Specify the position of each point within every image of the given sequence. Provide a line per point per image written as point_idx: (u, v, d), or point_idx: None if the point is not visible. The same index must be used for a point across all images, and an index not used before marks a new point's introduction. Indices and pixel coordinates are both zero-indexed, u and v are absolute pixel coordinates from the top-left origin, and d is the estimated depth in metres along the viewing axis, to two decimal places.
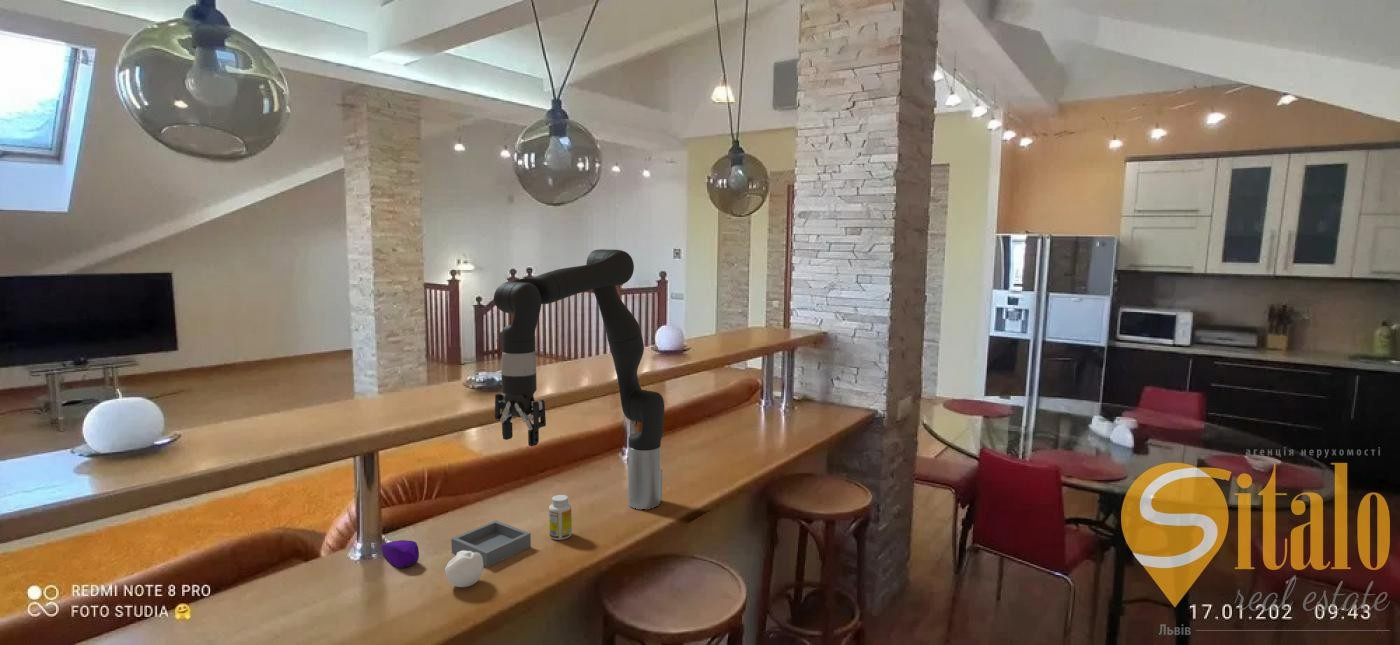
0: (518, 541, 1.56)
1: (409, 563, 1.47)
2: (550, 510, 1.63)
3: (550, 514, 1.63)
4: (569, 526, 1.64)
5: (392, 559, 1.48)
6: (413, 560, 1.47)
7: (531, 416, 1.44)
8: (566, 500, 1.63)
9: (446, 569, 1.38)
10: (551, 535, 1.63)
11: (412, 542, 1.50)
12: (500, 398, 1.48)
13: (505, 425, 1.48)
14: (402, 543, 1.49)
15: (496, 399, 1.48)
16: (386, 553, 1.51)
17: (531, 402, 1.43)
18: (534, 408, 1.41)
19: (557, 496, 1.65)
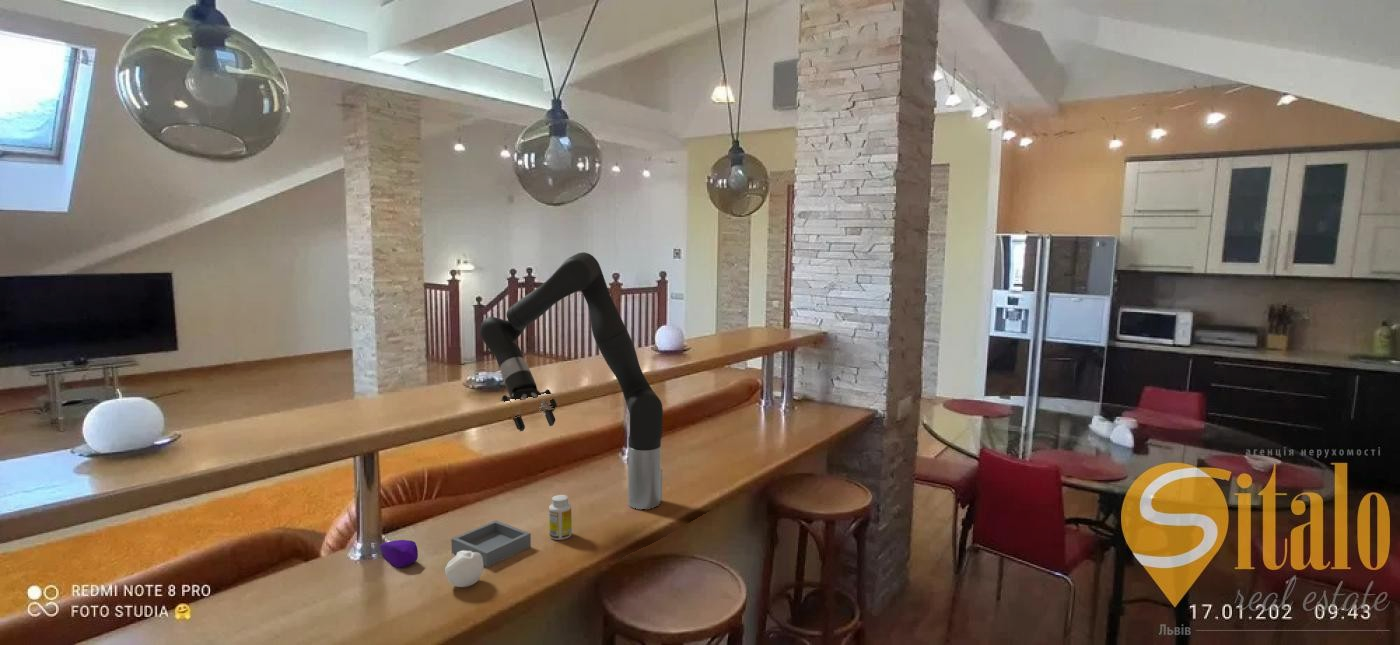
0: (518, 541, 1.56)
1: (408, 563, 1.47)
2: (550, 510, 1.63)
3: (550, 514, 1.63)
4: (569, 526, 1.64)
5: (391, 559, 1.49)
6: (412, 560, 1.47)
7: None
8: (566, 500, 1.63)
9: (446, 569, 1.38)
10: (551, 535, 1.63)
11: (411, 542, 1.50)
12: None
13: (545, 415, 1.76)
14: (401, 543, 1.50)
15: None
16: (385, 553, 1.51)
17: None
18: None
19: (557, 496, 1.65)
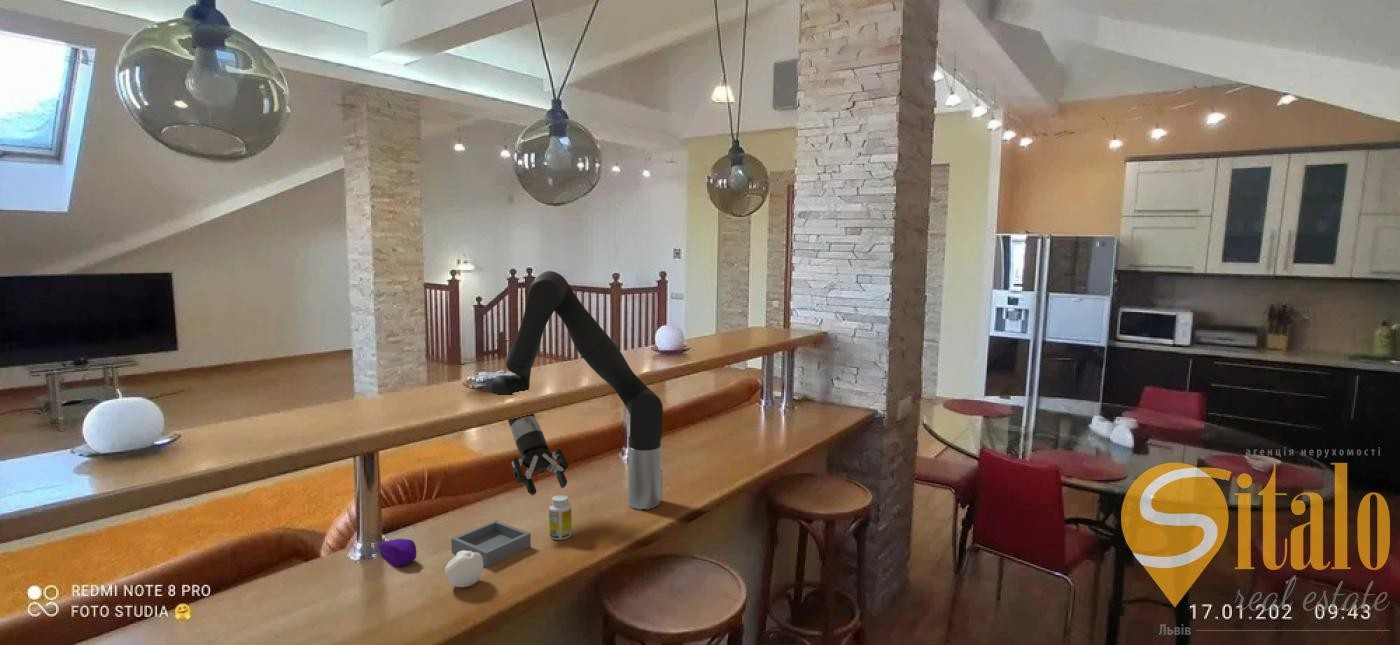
0: (518, 541, 1.56)
1: (407, 562, 1.48)
2: (550, 510, 1.63)
3: (550, 514, 1.63)
4: (569, 526, 1.64)
5: (389, 558, 1.49)
6: (411, 559, 1.48)
7: (527, 471, 1.69)
8: (566, 500, 1.63)
9: (446, 569, 1.38)
10: (551, 535, 1.63)
11: (409, 541, 1.51)
12: None
13: (557, 477, 1.73)
14: (400, 542, 1.50)
15: None
16: (383, 552, 1.51)
17: None
18: None
19: (557, 496, 1.65)
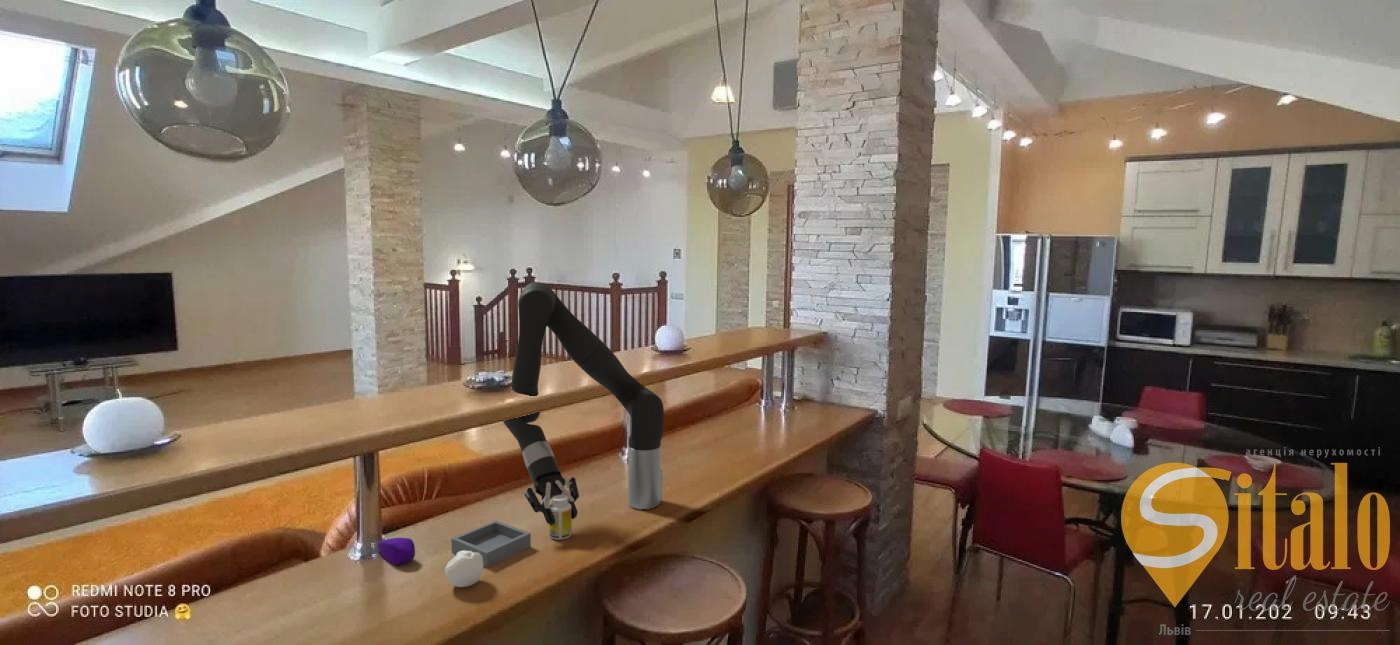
0: (518, 541, 1.56)
1: (405, 560, 1.49)
2: None
3: None
4: (569, 526, 1.64)
5: (388, 556, 1.50)
6: (409, 557, 1.48)
7: (543, 500, 1.64)
8: (566, 500, 1.63)
9: (446, 569, 1.38)
10: (551, 535, 1.63)
11: (408, 539, 1.51)
12: None
13: None
14: (399, 540, 1.51)
15: None
16: (382, 551, 1.52)
17: None
18: None
19: (557, 496, 1.65)
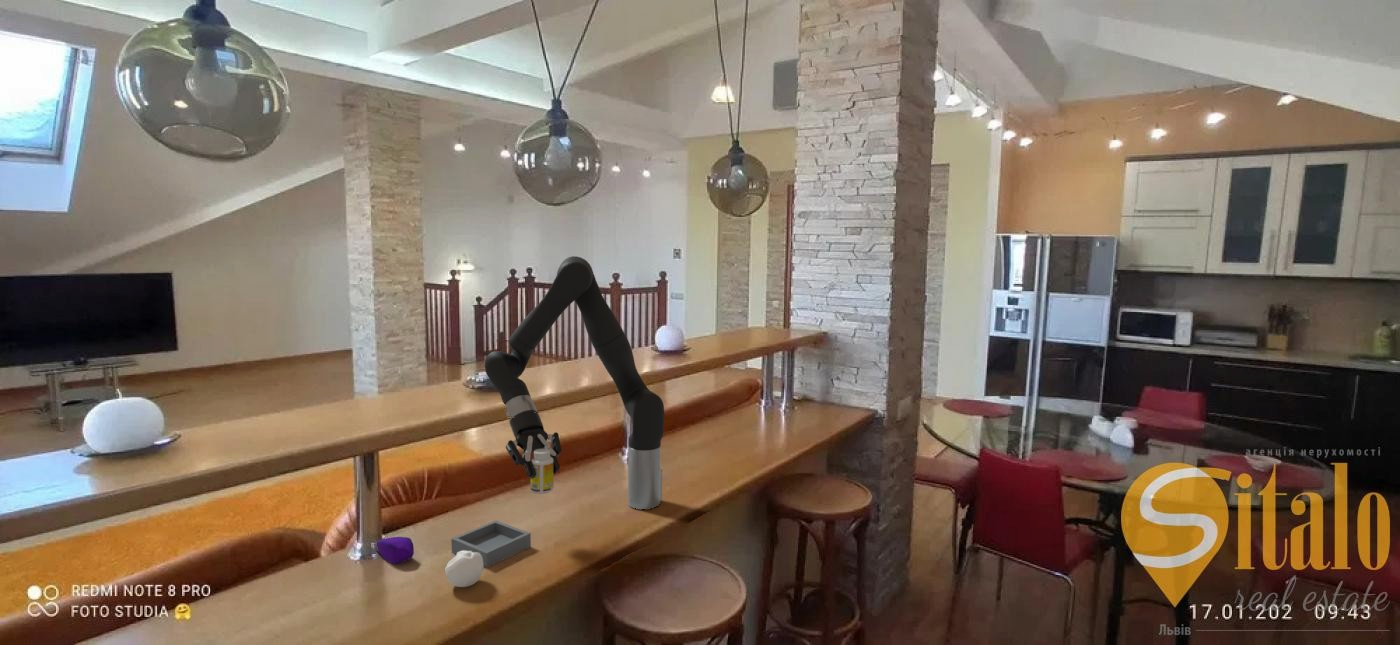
0: (518, 541, 1.56)
1: (404, 559, 1.49)
2: None
3: None
4: (551, 480, 1.61)
5: (387, 555, 1.50)
6: (408, 556, 1.49)
7: (524, 453, 1.61)
8: (548, 453, 1.60)
9: (446, 569, 1.38)
10: (532, 489, 1.60)
11: (407, 538, 1.52)
12: None
13: None
14: (397, 540, 1.51)
15: None
16: (381, 550, 1.52)
17: None
18: None
19: (539, 449, 1.62)
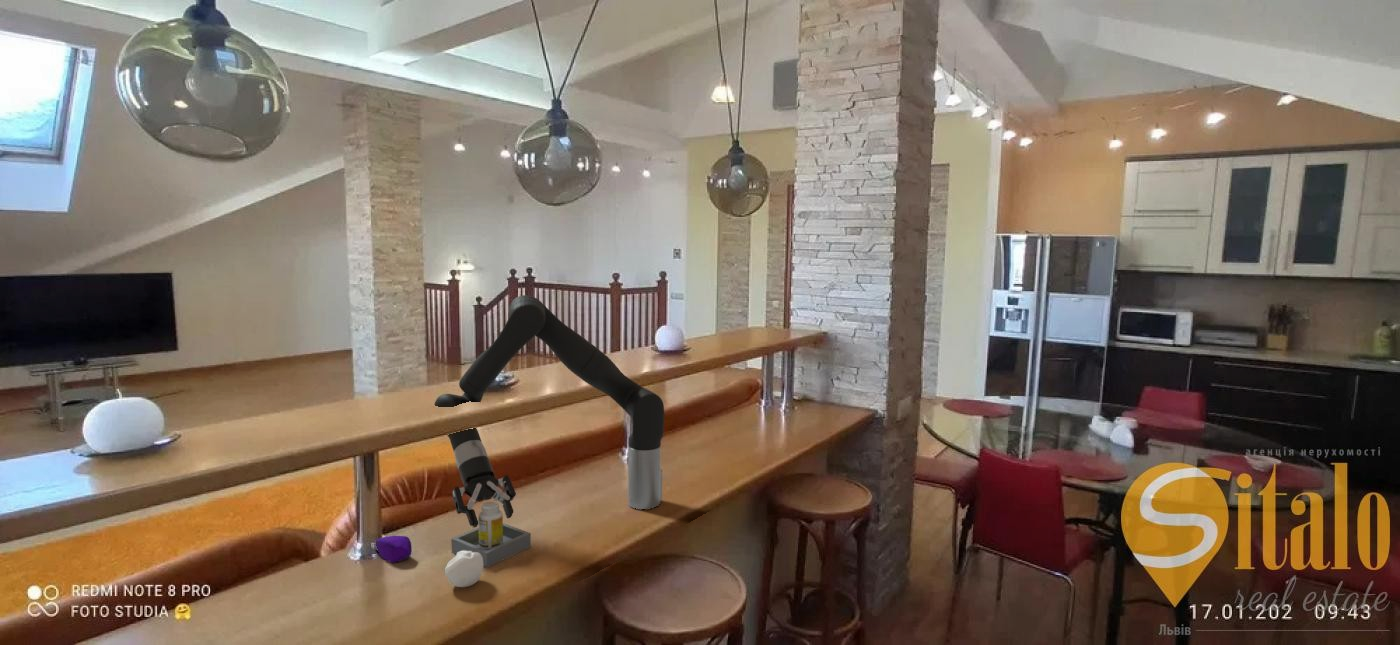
0: (518, 541, 1.56)
1: (402, 558, 1.50)
2: (479, 518, 1.55)
3: (479, 522, 1.55)
4: (500, 535, 1.56)
5: (385, 554, 1.51)
6: (406, 555, 1.50)
7: (469, 500, 1.56)
8: (496, 508, 1.56)
9: (446, 569, 1.38)
10: (480, 544, 1.55)
11: (405, 537, 1.52)
12: None
13: (503, 506, 1.60)
14: (395, 538, 1.52)
15: None
16: (379, 548, 1.53)
17: None
18: None
19: (487, 503, 1.57)
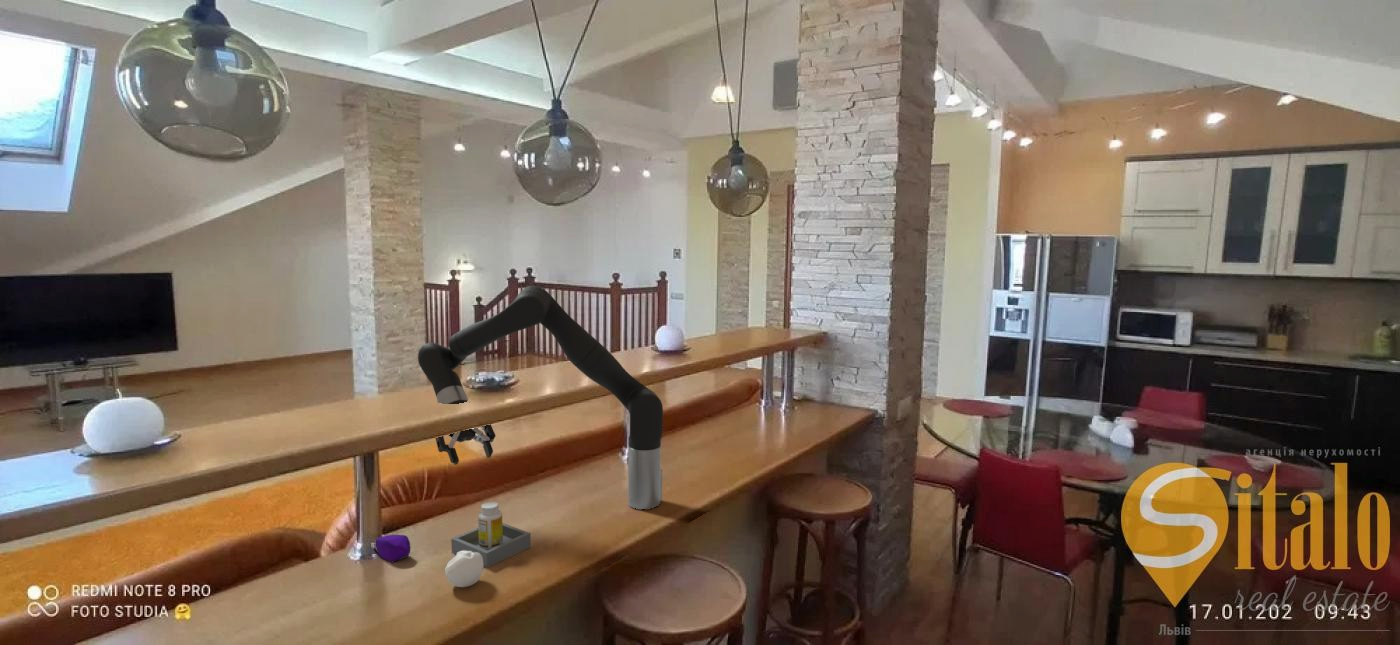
0: (518, 541, 1.56)
1: (401, 556, 1.50)
2: (479, 518, 1.55)
3: (479, 522, 1.55)
4: (499, 535, 1.56)
5: (383, 553, 1.51)
6: (405, 553, 1.50)
7: None
8: (496, 507, 1.56)
9: (446, 569, 1.38)
10: (480, 544, 1.55)
11: (403, 536, 1.53)
12: None
13: (483, 446, 1.69)
14: (394, 537, 1.52)
15: None
16: (377, 548, 1.53)
17: None
18: None
19: (487, 503, 1.57)
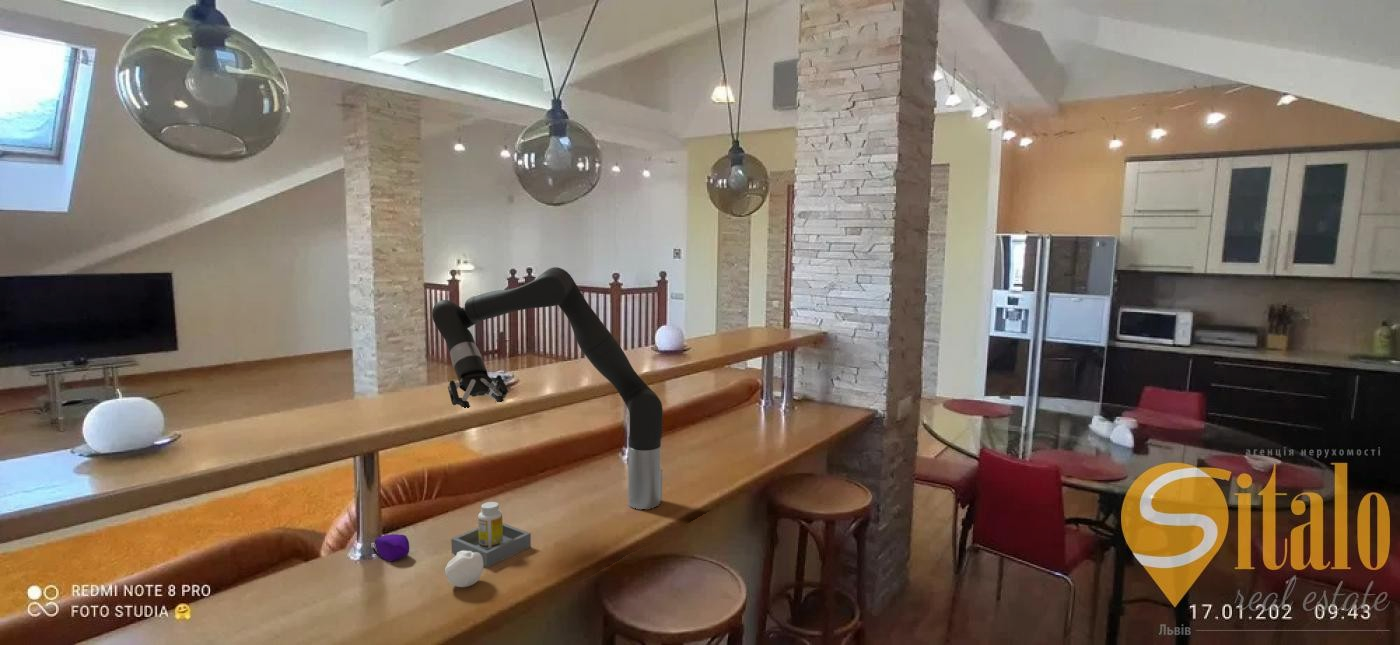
0: (518, 541, 1.56)
1: (400, 556, 1.51)
2: (479, 518, 1.55)
3: (479, 522, 1.55)
4: (499, 535, 1.56)
5: (382, 553, 1.52)
6: (404, 553, 1.50)
7: None
8: (496, 507, 1.56)
9: (446, 569, 1.38)
10: (480, 544, 1.55)
11: (402, 536, 1.53)
12: None
13: None
14: (393, 537, 1.53)
15: None
16: (376, 547, 1.54)
17: None
18: None
19: (487, 503, 1.57)
